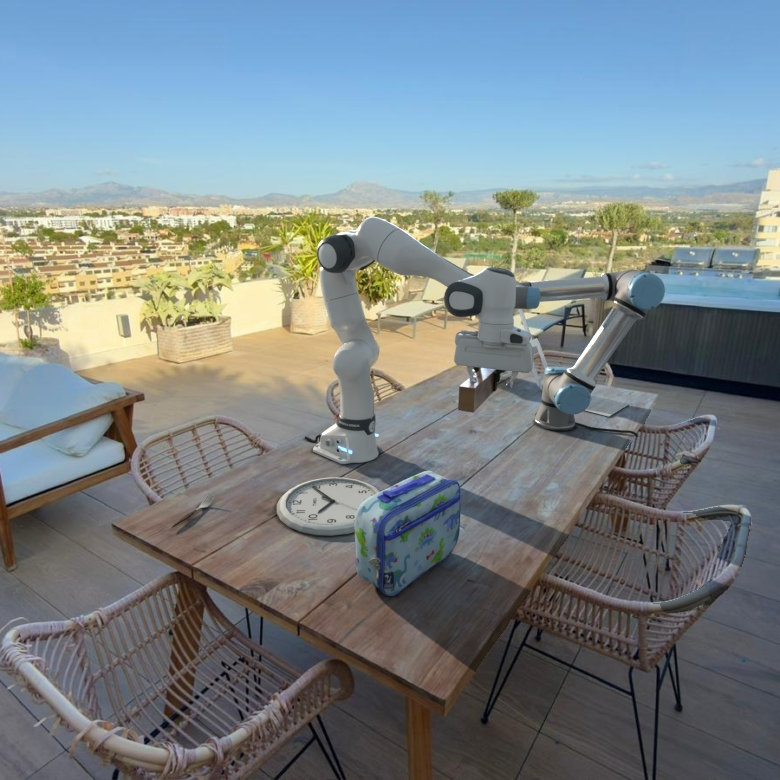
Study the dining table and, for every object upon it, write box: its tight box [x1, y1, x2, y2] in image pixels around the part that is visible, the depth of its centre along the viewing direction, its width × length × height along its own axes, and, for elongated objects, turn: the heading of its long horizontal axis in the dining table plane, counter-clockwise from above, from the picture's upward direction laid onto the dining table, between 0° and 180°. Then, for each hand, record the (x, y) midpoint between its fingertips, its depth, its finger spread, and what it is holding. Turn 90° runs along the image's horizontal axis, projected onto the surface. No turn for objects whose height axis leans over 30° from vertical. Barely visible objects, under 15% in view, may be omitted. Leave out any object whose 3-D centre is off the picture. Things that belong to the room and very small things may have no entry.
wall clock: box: [276, 476, 382, 537], centre depth 142 cm, size 30×2×30 cm
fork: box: [171, 493, 217, 529], centre depth 137 cm, size 3×16×2 cm, turn 160°
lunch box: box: [354, 470, 461, 597], centre depth 113 cm, size 26×11×21 cm, turn 134°
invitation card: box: [583, 396, 629, 418], centre depth 226 cm, size 21×1×15 cm
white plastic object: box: [472, 309, 549, 391], centre depth 258 cm, size 37×45×31 cm
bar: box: [457, 368, 496, 413], centre depth 178 cm, size 28×5×8 cm, turn 154°
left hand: (491, 384), depth 138 cm, fingers open, 8 cm apart
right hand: (486, 389), depth 189 cm, fingers closed on bar, 5 cm apart
